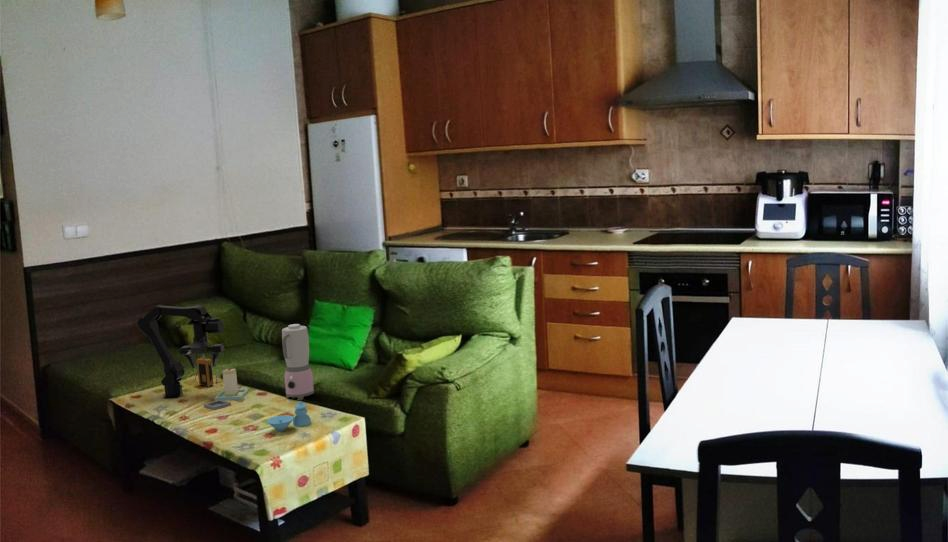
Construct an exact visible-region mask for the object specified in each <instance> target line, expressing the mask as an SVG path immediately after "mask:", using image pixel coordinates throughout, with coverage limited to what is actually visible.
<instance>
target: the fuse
mask: <svg viewBox="0 0 948 542" xmlns="http://www.w3.org/2000/svg"><path fill="white" fill-rule="evenodd" d="M221 372H222V379H223V380H222V381H223V388H224V389H223V390H224V391H225V397H231V396H237V395H238V390H239V387H238V386H239V385H238V379H237V377H238V376H237V368H226V369H224V370H222V371H221Z"/></svg>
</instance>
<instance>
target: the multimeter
mask: <svg viewBox="0 0 948 542" xmlns="http://www.w3.org/2000/svg"><path fill="white" fill-rule="evenodd" d="M212 353H213V352H212V351H210V354H212ZM197 355H198V353H195V356H196V366H197V367H196V368H197V370H196V371H197V372H196V374H195V378H194V380H197V376H198V383H199V384H198V386H200V385H207V386H210V385H213V384H214V383H213V382H214V375H213V363H212V359H211V358H206V356H205V351H203V352H202V353H201V355H202V356H201V357H200V358H198V356H197ZM216 364H217V363H216ZM216 364H215V367H214V368H217V365H216ZM215 382H216V383H215V384H216V385H218V380H217V377H215ZM207 386H206V387H207ZM213 386H214V385H213Z"/></svg>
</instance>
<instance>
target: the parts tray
mask: <svg viewBox="0 0 948 542" xmlns="http://www.w3.org/2000/svg"><path fill="white" fill-rule="evenodd" d="M239 392H243V393H242V394H241V395H239V396H238V395H237V396H231V397H225V391H224V389H223V390H221V391H220V392H219V393H218V394H217V395H216V396H214V401H217V400H223V401H240V400H243V399H244V398H245V396H246V395H247V394H248V393H249V388H246V389H238V393H239ZM247 392H248V393H247ZM246 393H247V394H246ZM245 394H246V395H245Z"/></svg>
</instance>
